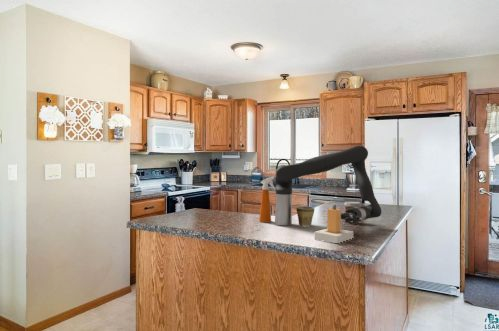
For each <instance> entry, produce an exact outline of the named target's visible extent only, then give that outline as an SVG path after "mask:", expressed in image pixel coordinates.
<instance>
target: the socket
mask: <svg viewBox="0 0 499 331" xmlns="http://www.w3.org/2000/svg"><path fill="white" fill-rule="evenodd" d="M352 238H353V239H354V231H353V230H348V229H347V230H346V229H343V228H341V233H338V234H334V233H329V232H327V228H324V229H320V230H317V231H314V240H316V239H319V240H318V241H320V240H324V241H323V242H325V241H329V242H333V243H332V244H334V243H339V244H341V243H340V242H342V243H344V242H343V241H345V242H347V241H346V240H348V241H350V240H349V239H351V240H353V239H352ZM329 242H328V243H329Z"/></svg>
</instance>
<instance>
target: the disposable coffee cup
mask: <svg viewBox="0 0 499 331" xmlns="http://www.w3.org/2000/svg"><path fill="white" fill-rule="evenodd" d="M343 206H344V210H345V211H346V210H347V209H350V208H354V207H362V204H361V202H359V201H352V200H348V201H347V200H346V201H345V202H344V204H343ZM345 211H344V212H345ZM348 225H359V222H357V223H353V224H351V223H349V224H348Z"/></svg>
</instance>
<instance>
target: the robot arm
mask: <svg viewBox="0 0 499 331" xmlns="http://www.w3.org/2000/svg"><path fill="white" fill-rule="evenodd" d="M368 156H369V150H368V148H366V147H364V146H363V145H355V146H353V147H350V148H348V149H344V150H342V151H337V152H332V153H327V154H322V155H318V156H315V157H312V158H309V159H306V160H304V161H302V162H299V163H298V162H297V163H295V164H287V165H285V164H283V165H279V166H277V168H276V170H275V185H274V187H275V189H276V190H275V207H274V216H275V217H274V225H276V226H291V225H292V224H293V223H292V222H293V216H292V214H293V213H292V212H293V187H292V186H293V185H292V184H293V180H295V179H297V178H300V177H304V176H311V175H312V176H313V175H316V174H317V175H318V174H321V173H326V172H328V171H331V170H332V171H333V170H334V169H337V168H338V167H341V166H344V165H347V164H351V166H352V169H353V172H354V174H355V178H356V182H357V186H358V191H359V195H360V199H361V201H363V202H368V203H370V204H367V205H363V206H362V205H361V207H354V208H350V209H347V210H346V211H344V212H341V221H344V223H346V224H348V223H351V224H350V225H354V224H353V223H357V222H358V223H360V222H362V221H366V220H368V219H374V218H379V217H380V216H381V215H382V207H381V205H380V204H379V202H378V200H377V198H376V196H375V193H374V190H373V185H372V181H371V179H370V177H369V175H368V172H367V170H366V164H365V163H366V162H365V161H366V160H367V158H368Z"/></svg>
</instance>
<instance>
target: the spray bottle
mask: <svg viewBox="0 0 499 331" xmlns="http://www.w3.org/2000/svg"><path fill="white" fill-rule="evenodd" d="M274 179H275V177H274V176H270V177H267V178H264V179H262V180H261V181H260V184H261V185H262V189H261V200H260V209H259V210H260V211H259V217H258V221H259V222H260V223H270V222H272V215H271V214H272V213H271V203H270V192H269V185H270V186H271V188H272V189H273V190H274V191H276V188H275V185H274Z"/></svg>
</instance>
